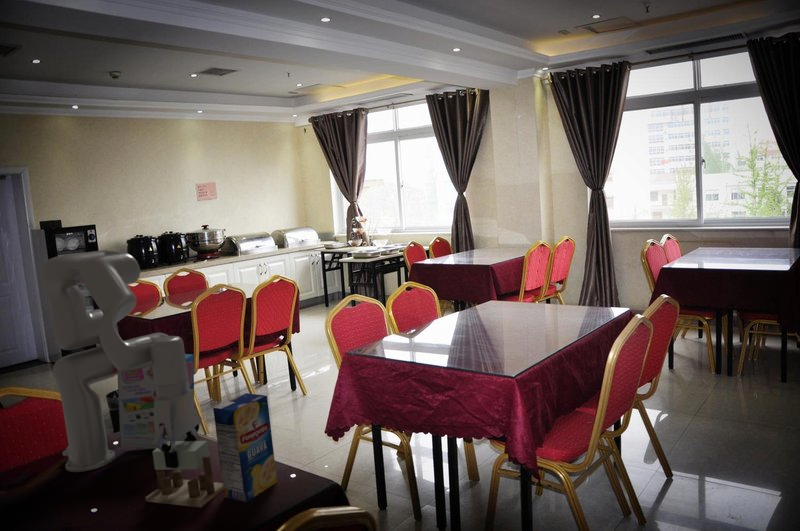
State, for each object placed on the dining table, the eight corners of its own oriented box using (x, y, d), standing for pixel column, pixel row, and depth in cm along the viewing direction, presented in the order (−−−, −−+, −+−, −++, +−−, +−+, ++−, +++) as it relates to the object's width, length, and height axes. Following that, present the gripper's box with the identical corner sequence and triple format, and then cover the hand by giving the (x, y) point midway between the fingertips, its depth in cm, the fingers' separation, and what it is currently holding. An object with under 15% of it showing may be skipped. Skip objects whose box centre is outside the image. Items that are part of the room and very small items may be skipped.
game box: (196, 444, 182) (195, 354, 179) (188, 452, 177) (186, 359, 173) (128, 439, 184) (126, 350, 181) (118, 447, 179) (116, 355, 175)
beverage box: (224, 497, 147) (212, 408, 144) (256, 477, 156) (246, 393, 154) (245, 502, 143) (233, 411, 141) (277, 481, 153) (267, 395, 150)
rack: (145, 501, 149) (139, 461, 147) (173, 482, 158) (168, 444, 157) (201, 507, 143) (195, 466, 142) (227, 487, 152) (222, 448, 151)
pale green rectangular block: (154, 469, 148) (152, 451, 147) (168, 458, 154) (166, 441, 153) (197, 469, 146) (194, 451, 145) (209, 458, 151) (207, 440, 151)
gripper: (184, 377, 157) (193, 445, 159) (133, 400, 141) (144, 475, 143) (208, 377, 154) (217, 446, 156) (159, 401, 138) (170, 478, 140)
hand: (182, 460), depth 149 cm, fingers closed on pale green rectangular block, 6 cm apart
